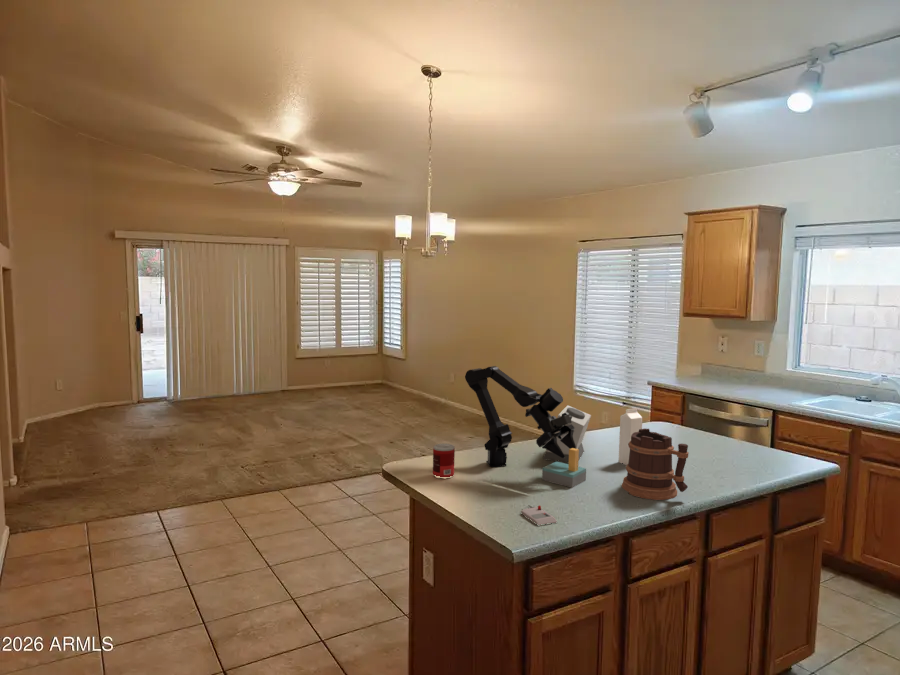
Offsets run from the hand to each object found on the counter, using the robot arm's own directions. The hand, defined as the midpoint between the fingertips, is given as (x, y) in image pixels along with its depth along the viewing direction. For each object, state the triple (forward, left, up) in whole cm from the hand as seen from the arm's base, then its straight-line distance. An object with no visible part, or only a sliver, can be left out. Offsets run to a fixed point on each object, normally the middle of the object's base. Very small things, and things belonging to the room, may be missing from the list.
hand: (570, 454), depth 203 cm
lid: (-1, +2, -7) cm, 8 cm away
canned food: (-42, +15, -11) cm, 46 cm away
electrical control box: (-22, -27, -11) cm, 37 cm away
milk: (+34, +18, -10) cm, 39 cm away
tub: (-1, +2, -10) cm, 11 cm away
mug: (+26, -13, -11) cm, 30 cm away
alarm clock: (+13, +31, -11) cm, 35 cm away
